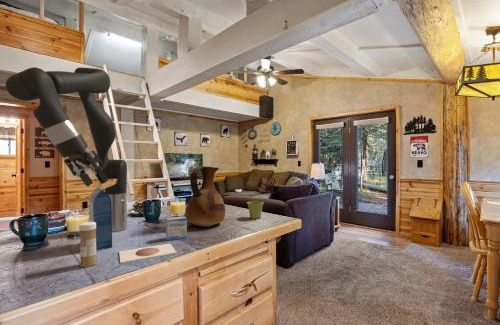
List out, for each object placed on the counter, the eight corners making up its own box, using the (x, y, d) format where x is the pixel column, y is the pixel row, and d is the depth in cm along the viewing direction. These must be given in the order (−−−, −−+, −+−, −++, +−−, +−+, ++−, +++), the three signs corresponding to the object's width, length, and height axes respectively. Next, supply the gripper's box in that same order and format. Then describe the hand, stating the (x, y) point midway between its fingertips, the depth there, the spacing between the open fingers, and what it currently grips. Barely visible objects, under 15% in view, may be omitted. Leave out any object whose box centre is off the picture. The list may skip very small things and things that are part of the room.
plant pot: (245, 219, 143) (245, 203, 143) (248, 215, 152) (248, 200, 152) (262, 220, 141) (262, 204, 141) (264, 216, 151) (264, 201, 150)
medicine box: (167, 241, 107) (167, 220, 107) (165, 238, 111) (165, 217, 111) (187, 238, 111) (186, 217, 111) (184, 235, 115) (184, 215, 115)
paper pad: (119, 252, 95) (119, 251, 95) (170, 244, 103) (170, 243, 103) (120, 263, 85) (120, 261, 85) (176, 253, 93) (176, 251, 93)
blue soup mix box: (93, 251, 96) (92, 183, 96) (89, 242, 106) (88, 181, 105) (112, 247, 100) (111, 182, 100) (107, 239, 110) (106, 180, 109)
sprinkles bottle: (78, 265, 84) (77, 223, 84) (93, 260, 87) (92, 220, 87) (83, 269, 81) (82, 225, 81) (99, 264, 84) (98, 222, 84)
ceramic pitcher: (232, 222, 136) (232, 165, 135) (206, 232, 119) (206, 166, 118) (204, 218, 147) (204, 164, 146) (176, 226, 130) (176, 166, 129)
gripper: (90, 128, 77) (119, 175, 83) (66, 137, 84) (94, 179, 90) (66, 139, 71) (100, 188, 77) (42, 147, 79) (75, 191, 85)
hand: (97, 183), depth 84 cm, fingers open, 8 cm apart
